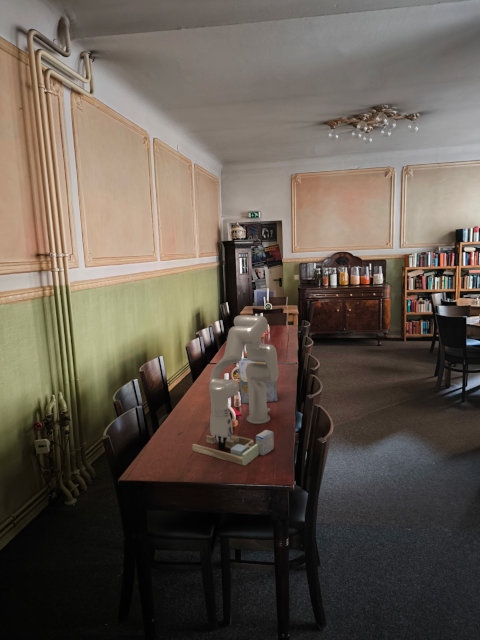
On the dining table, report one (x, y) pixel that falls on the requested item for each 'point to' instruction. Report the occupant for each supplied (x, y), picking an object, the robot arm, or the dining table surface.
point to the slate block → (239, 449)
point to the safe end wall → (250, 454)
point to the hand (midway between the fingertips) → (222, 449)
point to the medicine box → (265, 442)
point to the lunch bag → (270, 386)
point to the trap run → (229, 444)
